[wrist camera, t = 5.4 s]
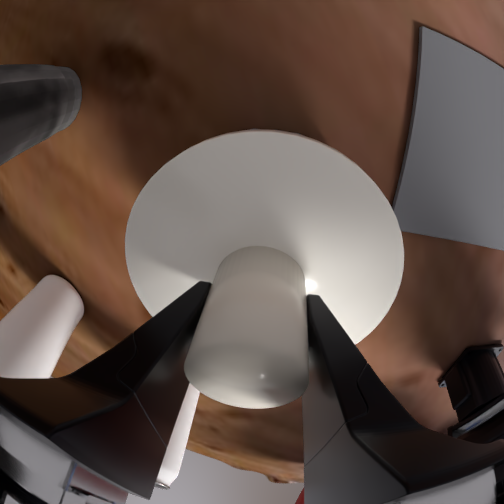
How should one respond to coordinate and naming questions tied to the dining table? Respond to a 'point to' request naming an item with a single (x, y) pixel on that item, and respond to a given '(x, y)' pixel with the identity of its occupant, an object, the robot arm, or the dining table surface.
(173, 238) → the lid
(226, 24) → the dining table surface
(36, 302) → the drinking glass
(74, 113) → the beverage cup
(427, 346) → the dining table surface
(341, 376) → the robot arm
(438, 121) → the mat
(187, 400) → the can
